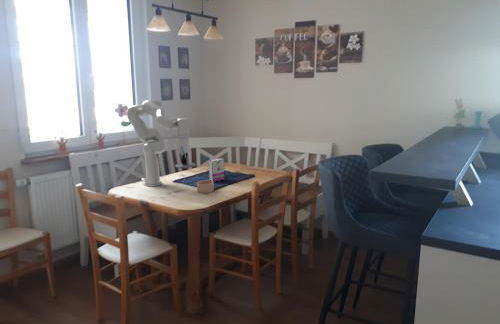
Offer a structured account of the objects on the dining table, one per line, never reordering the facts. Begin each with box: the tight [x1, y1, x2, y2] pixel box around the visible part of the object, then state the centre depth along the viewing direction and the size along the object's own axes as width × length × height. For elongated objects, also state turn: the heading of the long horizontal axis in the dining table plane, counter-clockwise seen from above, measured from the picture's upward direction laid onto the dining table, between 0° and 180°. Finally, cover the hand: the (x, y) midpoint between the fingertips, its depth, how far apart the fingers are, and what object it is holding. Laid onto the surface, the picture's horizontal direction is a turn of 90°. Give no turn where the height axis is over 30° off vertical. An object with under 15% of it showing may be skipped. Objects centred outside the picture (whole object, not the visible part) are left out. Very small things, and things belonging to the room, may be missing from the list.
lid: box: [174, 155, 196, 169], centre depth 273 cm, size 14×14×7 cm
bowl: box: [196, 179, 215, 194], centre depth 274 cm, size 11×11×6 cm
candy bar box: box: [208, 158, 226, 183], centre depth 299 cm, size 11×5×16 cm, turn 129°
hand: (185, 162), depth 273 cm, fingers closed on lid, 3 cm apart
